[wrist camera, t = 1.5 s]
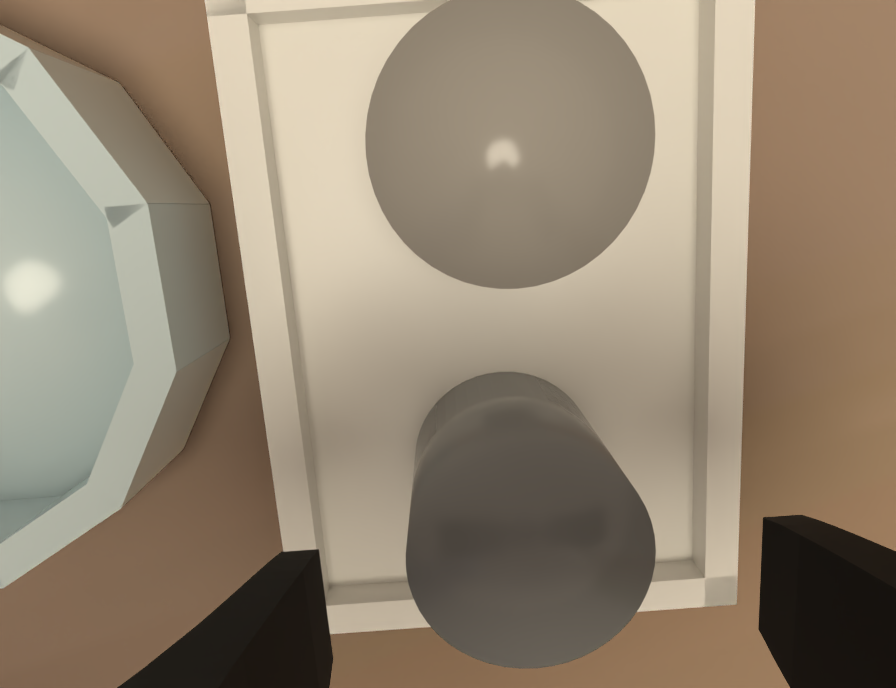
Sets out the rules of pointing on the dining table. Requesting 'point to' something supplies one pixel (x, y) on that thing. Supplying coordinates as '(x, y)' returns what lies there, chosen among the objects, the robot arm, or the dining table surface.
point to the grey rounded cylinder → (510, 139)
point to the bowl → (92, 302)
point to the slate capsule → (523, 526)
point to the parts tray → (485, 295)
